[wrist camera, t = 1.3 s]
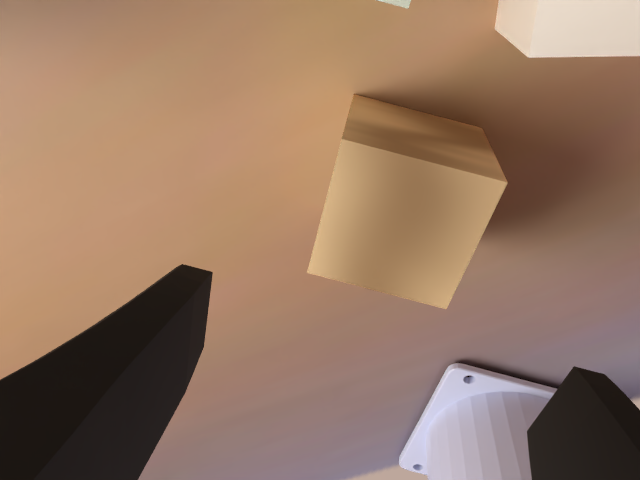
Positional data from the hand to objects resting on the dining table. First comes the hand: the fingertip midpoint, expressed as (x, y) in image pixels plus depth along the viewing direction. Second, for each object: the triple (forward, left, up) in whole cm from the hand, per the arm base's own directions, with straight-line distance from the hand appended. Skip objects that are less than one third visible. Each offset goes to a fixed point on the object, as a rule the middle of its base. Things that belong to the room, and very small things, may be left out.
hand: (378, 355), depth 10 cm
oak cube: (0, 0, -10) cm, 10 cm away
